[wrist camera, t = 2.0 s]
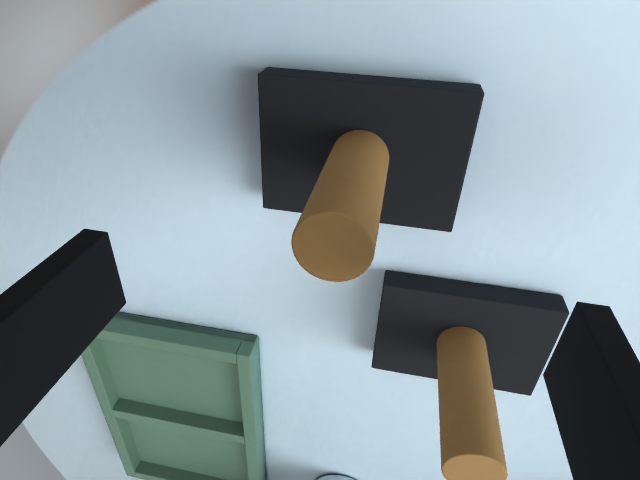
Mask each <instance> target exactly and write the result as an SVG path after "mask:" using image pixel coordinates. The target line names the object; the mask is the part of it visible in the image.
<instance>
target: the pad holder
mask: <svg viewBox="0 0 640 480" xmlns="http://www.w3.org/2000/svg"><path fill="white" fill-rule="evenodd" d="M81 355H82V358H83V361H84V363H85V366H86V368H87V371H88V374H89V376H90V379H91V382H92V384H93V387H94V390H95V392H96V395H97V397H98V400H99V403H100V405H101V408H102V411H103V413H104V416H105V419H106V421H107V424H108V426H109V429H110V432H111V434H112V437H113V440H114V442H115V445H116V448H117V450H118V453H119V455H120V458H121V461H122V463H123V466H124V469H125V471H126V474H127V475H128V476H132V477H136V478H140V479H144V480H267V478H266V461H265V444H264V427H263V409H262V392H261V375H260V358H259V340H258V336H254V335H249V334H243V333H237V332H231V331H226V330H220V329H214V328H208V327H202V326H197V325H191V324H185V323H179V322H173V321H167V320H162V319H156V318H150V317H144V316H138V315H132V314H127V313H121V312H118V313H117V314H116V315H115V316H114V317H113V318H112V320H111V321H110V322H109V323H108V324H107V325H106V326H105V328H104V329H103V330H102V331H101V332H100V333H99V334H98V336H97V337H96V338H95V339H94V340H93V341H92V342H91V344H90V345H89V346H88V347H87V348H86V349H85V350H84V352H83V353H82V354H81Z"/></svg>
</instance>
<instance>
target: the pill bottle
mask: <svg viewBox="0 0 640 480" xmlns="http://www.w3.org/2000/svg"><path fill="white" fill-rule="evenodd" d="M317 480H354V479H351V478H349V477H345V476H341V475H328V476H323V477H321V478H319V479H317Z"/></svg>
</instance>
